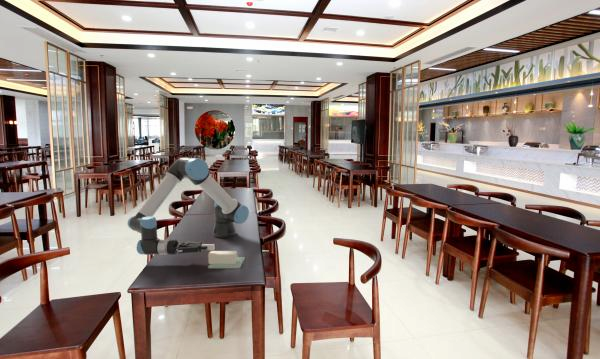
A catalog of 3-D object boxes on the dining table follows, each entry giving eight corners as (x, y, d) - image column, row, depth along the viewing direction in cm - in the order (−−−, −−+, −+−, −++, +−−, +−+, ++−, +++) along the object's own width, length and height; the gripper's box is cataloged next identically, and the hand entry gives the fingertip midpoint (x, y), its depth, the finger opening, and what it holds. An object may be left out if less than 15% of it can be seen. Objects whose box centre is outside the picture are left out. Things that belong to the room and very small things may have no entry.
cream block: (210, 250, 181) (237, 251, 181) (210, 260, 182) (237, 260, 182) (207, 254, 176) (235, 254, 176) (208, 263, 177) (235, 263, 177)
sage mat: (215, 258, 187) (215, 257, 186) (244, 258, 186) (244, 257, 186) (208, 268, 173) (207, 267, 173) (240, 268, 172) (239, 267, 172)
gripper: (173, 249, 186) (217, 249, 185) (164, 258, 173) (211, 258, 172) (173, 236, 185) (217, 236, 184) (163, 244, 172) (210, 244, 171)
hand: (214, 247), depth 178 cm, fingers closed
